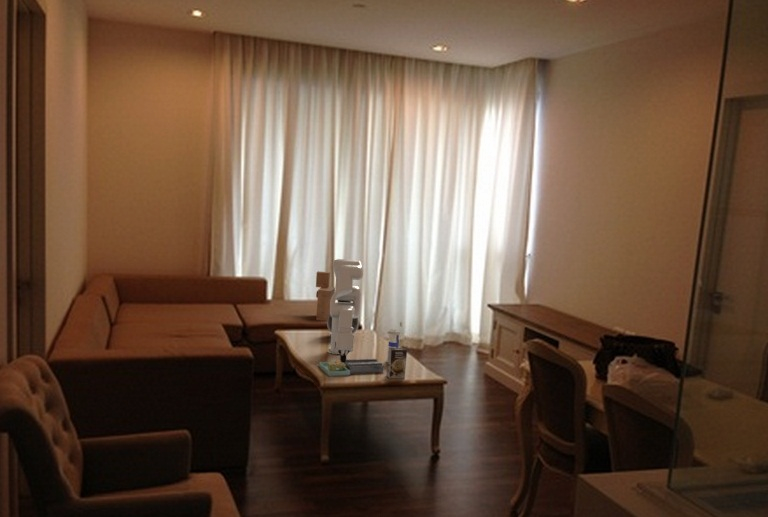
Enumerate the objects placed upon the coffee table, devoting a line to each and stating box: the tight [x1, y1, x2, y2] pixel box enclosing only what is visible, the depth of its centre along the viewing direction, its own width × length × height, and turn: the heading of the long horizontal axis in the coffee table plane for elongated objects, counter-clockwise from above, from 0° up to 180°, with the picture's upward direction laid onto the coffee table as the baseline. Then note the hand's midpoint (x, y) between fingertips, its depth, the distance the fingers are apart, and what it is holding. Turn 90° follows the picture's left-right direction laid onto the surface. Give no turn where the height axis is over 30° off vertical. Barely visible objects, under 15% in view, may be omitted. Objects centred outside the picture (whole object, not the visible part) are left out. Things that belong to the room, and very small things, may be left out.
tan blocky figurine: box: [315, 271, 335, 322], centre depth 526 cm, size 19×14×35 cm
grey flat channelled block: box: [343, 358, 384, 375], centre depth 387 cm, size 14×20×5 cm
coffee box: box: [386, 347, 408, 379], centre depth 377 cm, size 9×6×16 cm
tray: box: [318, 361, 351, 377], centre depth 381 cm, size 20×12×2 cm, turn 21°
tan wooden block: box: [336, 359, 346, 371], centre depth 382 cm, size 4×4×4 cm
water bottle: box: [385, 322, 403, 363], centre depth 408 cm, size 8×9×25 cm
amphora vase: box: [326, 299, 360, 339], centre depth 463 cm, size 22×22×28 cm
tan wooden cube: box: [327, 361, 337, 371], centre depth 380 cm, size 4×4×4 cm
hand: (343, 361), depth 383 cm, fingers closed
